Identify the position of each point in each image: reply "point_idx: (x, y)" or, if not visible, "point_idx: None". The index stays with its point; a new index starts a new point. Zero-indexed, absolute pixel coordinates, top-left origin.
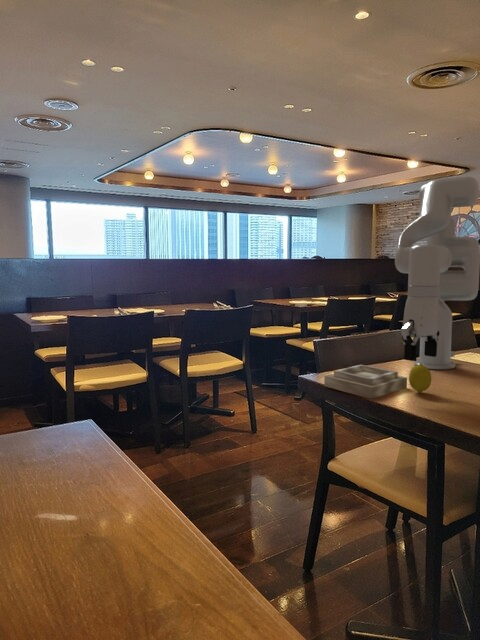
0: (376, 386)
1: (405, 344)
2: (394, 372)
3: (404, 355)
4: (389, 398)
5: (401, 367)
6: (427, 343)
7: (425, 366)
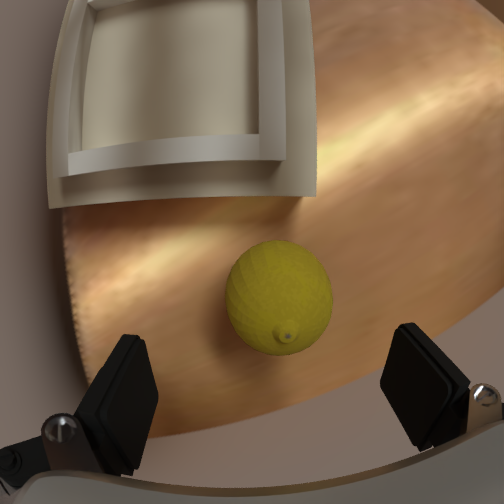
0: (71, 205)
1: (66, 423)
2: (256, 155)
3: (115, 349)
4: (121, 235)
5: (500, 63)
6: (435, 397)
7: (299, 346)
